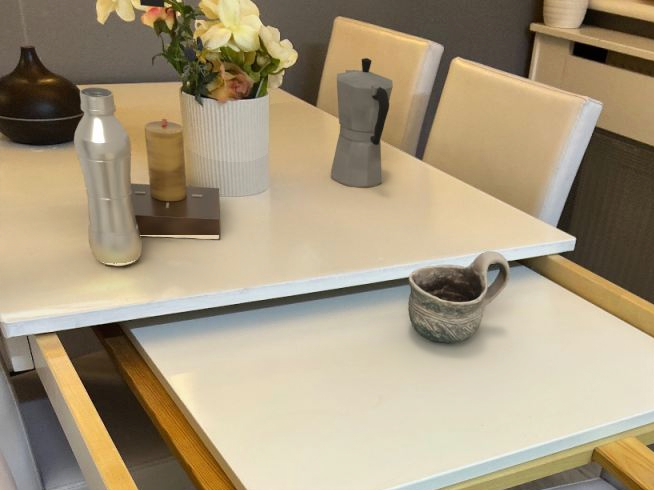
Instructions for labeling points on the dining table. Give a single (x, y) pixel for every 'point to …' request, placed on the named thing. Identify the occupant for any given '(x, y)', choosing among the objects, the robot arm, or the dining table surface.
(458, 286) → the mug
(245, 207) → the dining table surface
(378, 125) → the coffeepot
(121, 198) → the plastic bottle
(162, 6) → the robot arm
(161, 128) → the candle
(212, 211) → the dark brown flat block
